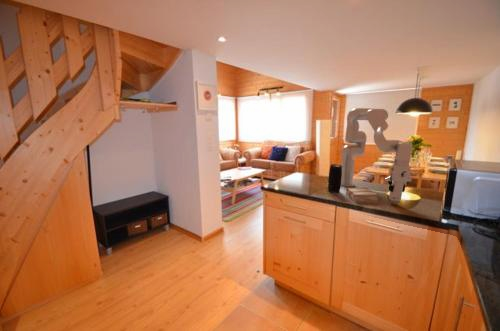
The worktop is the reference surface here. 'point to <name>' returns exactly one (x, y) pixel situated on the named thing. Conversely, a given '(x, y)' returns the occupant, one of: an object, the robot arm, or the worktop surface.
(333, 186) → the portable speaker
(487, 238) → the worktop surface
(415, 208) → the worktop surface
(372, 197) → the wood stand
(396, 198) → the travel mug
